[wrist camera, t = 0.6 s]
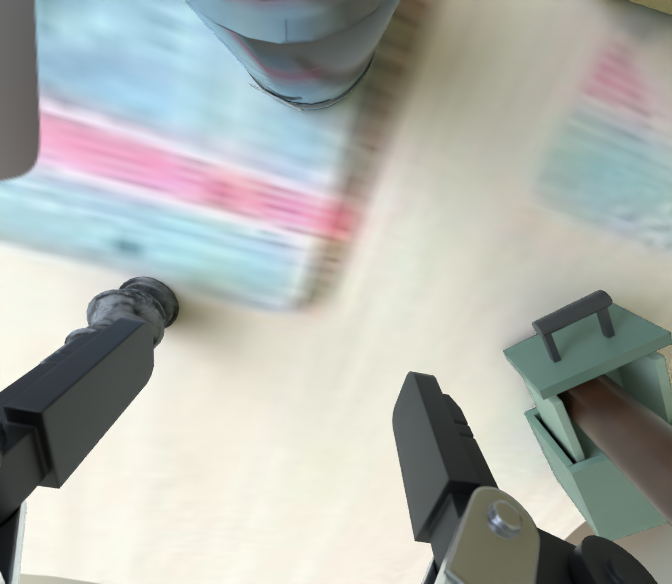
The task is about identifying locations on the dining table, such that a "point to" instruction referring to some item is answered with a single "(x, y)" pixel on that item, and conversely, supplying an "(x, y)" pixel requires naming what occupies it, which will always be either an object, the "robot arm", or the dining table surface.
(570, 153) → the dining table surface
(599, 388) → the pepper mill
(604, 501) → the cabinet
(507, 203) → the dining table surface
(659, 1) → the cheese
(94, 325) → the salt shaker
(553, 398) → the drawer
